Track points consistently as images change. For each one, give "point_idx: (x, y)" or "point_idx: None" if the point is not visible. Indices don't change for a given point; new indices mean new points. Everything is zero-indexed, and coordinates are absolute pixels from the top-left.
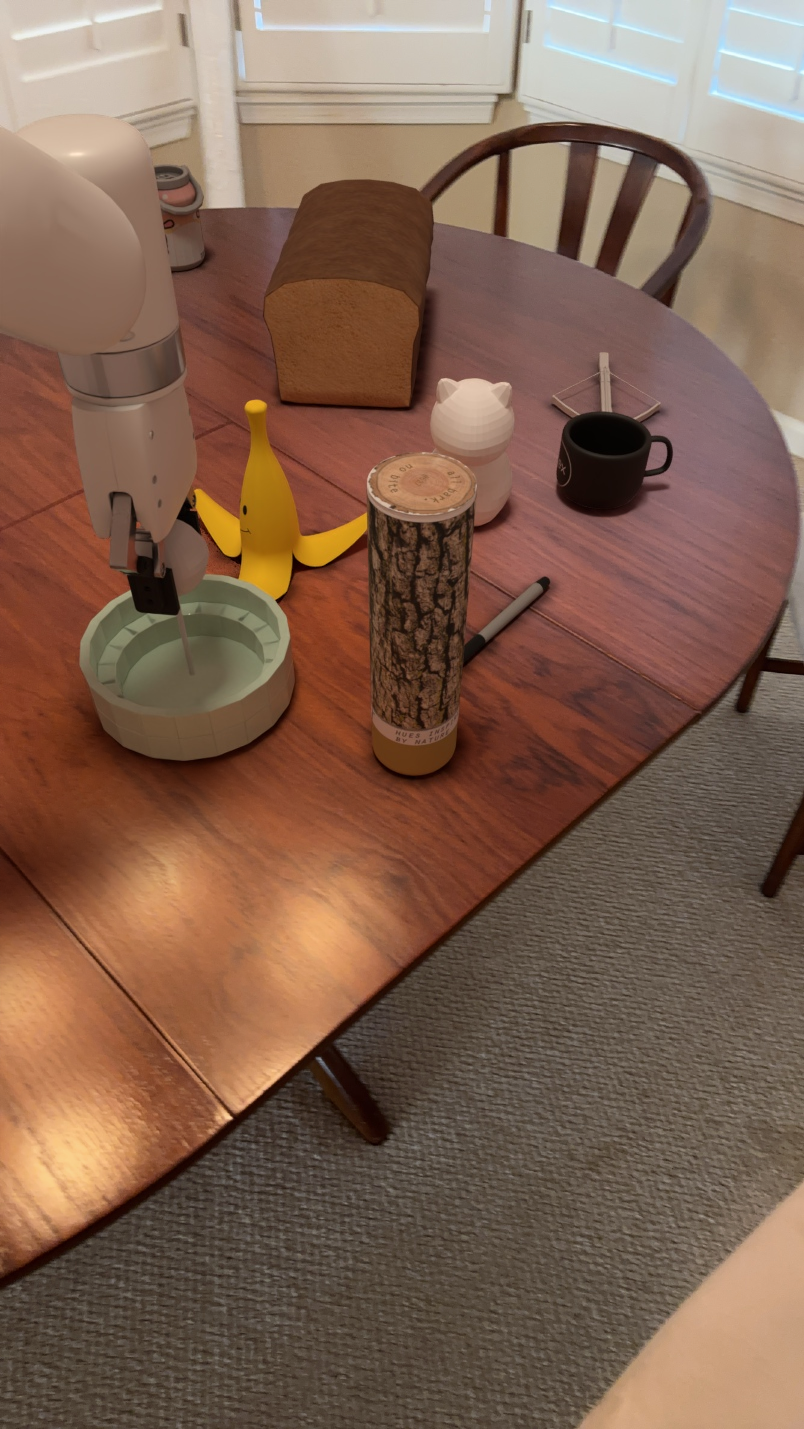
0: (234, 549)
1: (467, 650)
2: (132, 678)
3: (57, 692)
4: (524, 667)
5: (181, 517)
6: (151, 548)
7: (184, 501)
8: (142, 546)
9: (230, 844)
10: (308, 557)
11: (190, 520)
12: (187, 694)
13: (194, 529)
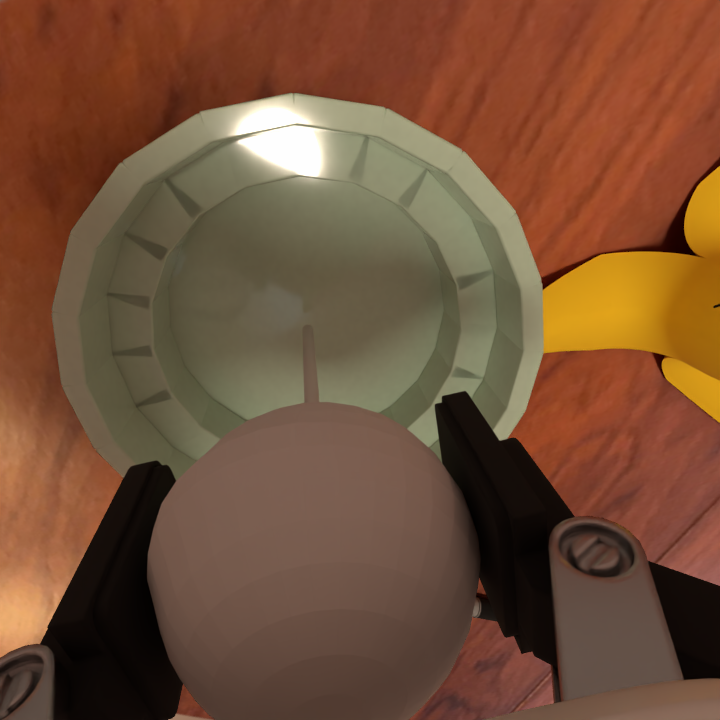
0: (705, 212)
1: (490, 619)
2: (279, 191)
3: (192, 17)
4: (485, 651)
5: (503, 608)
6: (201, 694)
7: (554, 697)
8: (198, 659)
9: (53, 491)
10: (679, 363)
11: (500, 622)
12: (281, 317)
13: (485, 590)
